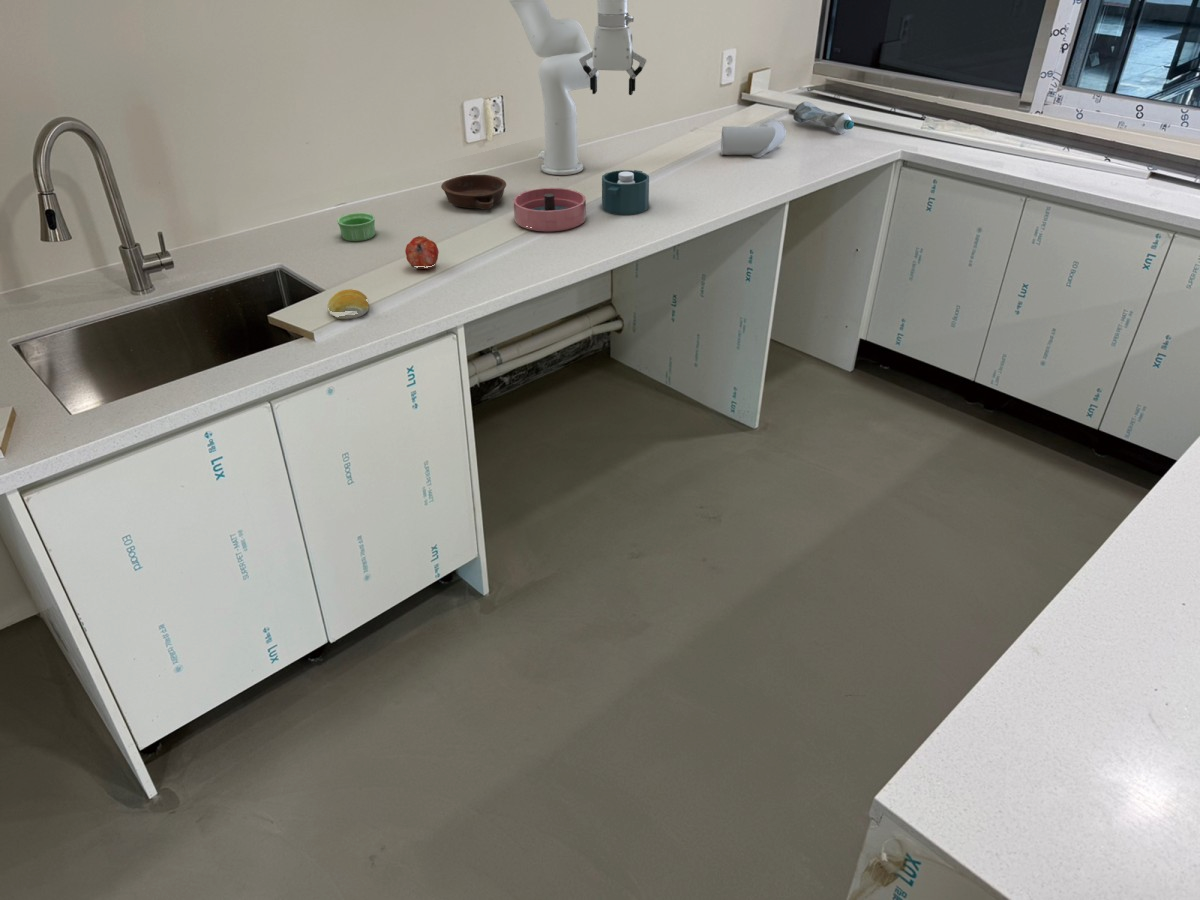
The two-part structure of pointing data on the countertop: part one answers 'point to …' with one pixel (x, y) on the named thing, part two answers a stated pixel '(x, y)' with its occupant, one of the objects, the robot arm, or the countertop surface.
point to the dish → (474, 191)
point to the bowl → (549, 219)
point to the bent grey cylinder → (752, 139)
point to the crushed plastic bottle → (822, 117)
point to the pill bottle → (626, 178)
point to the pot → (625, 193)
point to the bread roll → (349, 303)
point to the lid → (549, 204)
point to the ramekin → (357, 226)
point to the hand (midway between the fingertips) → (612, 93)
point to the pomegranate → (422, 252)
